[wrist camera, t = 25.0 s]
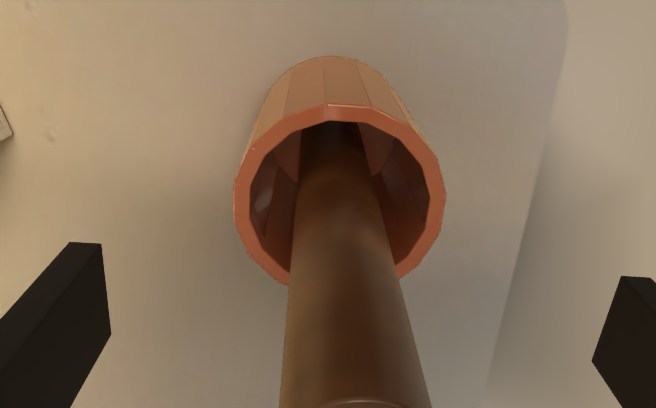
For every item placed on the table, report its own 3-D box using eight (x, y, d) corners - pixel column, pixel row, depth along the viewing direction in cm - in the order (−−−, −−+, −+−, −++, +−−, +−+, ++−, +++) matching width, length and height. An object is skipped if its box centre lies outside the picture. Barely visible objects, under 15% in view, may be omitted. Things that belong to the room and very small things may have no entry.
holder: (413, 61, 27) (462, 112, 18) (394, 199, 30) (427, 302, 21) (261, 50, 27) (233, 96, 18) (258, 191, 30) (232, 292, 21)
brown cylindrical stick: (362, 107, 27) (456, 403, 9) (356, 163, 29) (429, 523, 10) (303, 103, 27) (277, 396, 9) (299, 159, 28) (271, 518, 10)
